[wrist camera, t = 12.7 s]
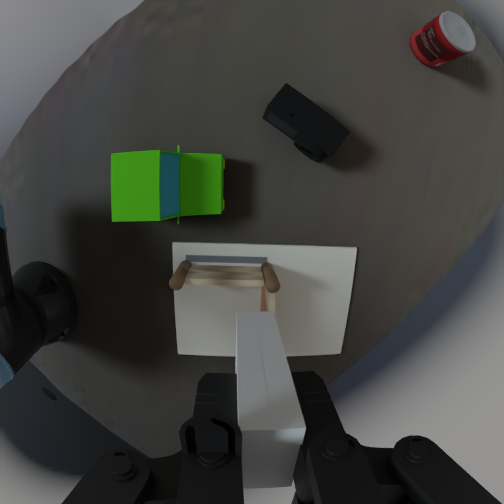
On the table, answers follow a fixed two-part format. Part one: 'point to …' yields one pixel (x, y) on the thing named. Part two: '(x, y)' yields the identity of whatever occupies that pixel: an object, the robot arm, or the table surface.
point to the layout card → (253, 297)
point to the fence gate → (269, 301)
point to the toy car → (165, 185)
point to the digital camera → (305, 124)
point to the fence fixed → (225, 276)
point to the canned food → (442, 40)
